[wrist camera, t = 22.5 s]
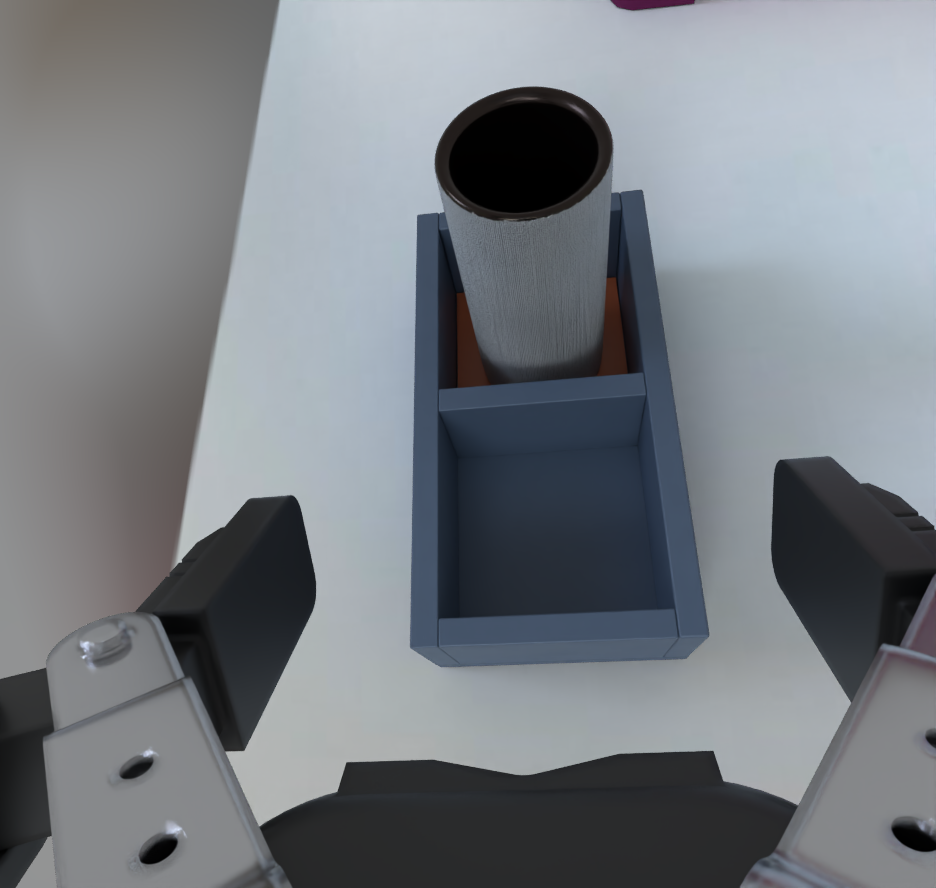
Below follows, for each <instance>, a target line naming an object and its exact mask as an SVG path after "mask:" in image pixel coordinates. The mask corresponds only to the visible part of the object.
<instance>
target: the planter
mask: <svg viewBox="0 0 936 888" xmlns="http://www.w3.org/2000/svg"><path fill="white" fill-rule="evenodd" d="M612 171H613V139H612V135H611V132H610V129H609V127H608V125H607V123H606V121H605V119H604V118H603V117H602V115H601V114H600V113H599V112H598V111H597V110H596V109H595V108H594V107H593V106H592V105H591V104H589V103H588V102H586V101H585V100H583V99H582V98H580V97H578V96H576V95H574V94H571V93H569V92H566V91H562V90H559V89H554V88H548V87H520V88H513V89H508V90H504V91H500V92H497V93H494V94H491V95H489V96H487V97H484V98H482V99H480V100H478V101H477V102H475V103H473V104H472V105H470V106H469V107H467V108H466V109H465V110H463V111H462V112H461V113H460V114H459V115H458V116H457V117H456V118H455V119H454V120H453V121H452V122H451V123H450V124H449V126H448V127H447V128H446V130H445V131H444V133H443V135H442V137H441V139H440V141H439V143H438V146H437V150H436V154H435V173H436V178H437V183H438V187H439V191H440V195H441V199H442V203H443V207H444V211H445V215H446V219H447V223H448V227H449V231H450V235H451V239H452V243H453V247H454V251H455V255H456V259H457V263H458V268H459V272H460V276H461V280H462V284H463V288H464V292H465V296H466V300H467V304H468V308H469V312H470V316H471V320H472V324H473V328H474V332H475V336H476V340H477V344H478V348H479V352H480V356H481V360H482V364H483V367H484V370H485V373H486V375H487V378H488V380H489V382H490V383H491V385H499V384H511V383H523V382H535V381H547V380H559V379H571V378H583V377H595V376H596V375H597V373H598V371H599V368H600V364H601V358H602V350H603V333H604V315H605V297H606V279H607V261H608V243H609V225H610V207H611V189H612Z"/></svg>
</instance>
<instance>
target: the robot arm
mask: <svg viewBox="0 0 936 888" xmlns="http://www.w3.org/2000/svg"><path fill="white" fill-rule="evenodd" d="M771 553H772V563H773V568H774V573H775V576H776V579H777V582H778V584H779V586H780V588H781V590H782V591H783V593H784V595H785V596H786V598H787V599H788V601H789V603H790V604H791V606H792V608H793V609H794V611H795V612H796V614H797V616H798V617H799V619H800V620H801V622H802V624H803V625H804V627H805V629H806V630H807V632H808V633H809V635H810V637H811V638H812V640H813V641H814V643H815V645H816V646H817V648H818V650H819V651H820V653H821V654H822V656H823V658H824V659H825V661H826V662H827V664H828V666H829V667H830V669H831V671H832V672H833V674H834V675H835V677H836V679H837V680H838V682H839V684H840V685H841V687H842V688H843V690H844V692H845V693H846V695H847V696H848V698H849V700H850V701H851V705H850V706H849V708H848V710H847V712H846V714H845V716H844V718H843V720H842V722H841V724H840V726H839V728H838V730H837V732H836V734H835V736H834V738H833V739H832V741H831V743H830V745H829V747H828V749H827V751H826V753H825V755H824V757H823V759H822V761H821V763H820V765H819V767H818V769H817V770H816V772H815V774H814V776H813V778H812V780H811V782H810V784H809V786H808V788H807V790H806V792H805V794H804V796H803V798H802V800H801V802H800V803H799V805H796V804H794V803H792V802H789V801H787V800H785V799H783V798H780V797H777V796H775V795H772V794H769V793H767V792H764V791H761V790H758V789H754V788H750V787H747V786H743V785H740V784H735V783H730V782H725V781H723V779H722V776H721V773H720V770H719V767H718V764H717V761H716V758H715V754H714V751H696V752H664V753H633V754H617V755H613V756H609V757H604V758H600V759H596V760H592V761H588V762H583V763H579V764H575V765H571V766H567V767H563V768H558V769H554V770H550V771H546V772H542V773H537V774H533V775H513V774H508V773H502V772H497V771H492V770H486V769H481V768H475V767H470V766H464V765H459V764H453V763H448V762H442V761H437V760H410V761H378V762H347V763H346V766H345V769H344V772H343V776H342V779H341V782H340V785H339V789H338V792H336V793H332V794H328V795H325V796H322V797H319V798H316V799H313V800H310V801H307V802H305V803H303V804H300V805H298V806H296V807H294V808H292V809H289V810H287V811H285V812H283V813H282V814H280V815H278V816H276V817H274V818H273V819H271V820H269V821H267V822H266V823H264V824H263V825H261V826H260V827H259V826H258V823H257V821H256V819H255V817H254V815H253V812H252V810H251V808H250V806H249V804H248V801H247V799H246V797H245V795H244V793H243V790H242V788H241V786H240V784H239V781H238V779H237V777H236V775H235V773H234V770H233V768H232V766H231V764H230V762H229V759H228V757H227V755H226V753H225V751H244V750H245V748H246V746H247V744H248V742H249V740H250V738H251V736H252V734H253V732H254V730H255V728H256V726H257V724H258V722H259V720H260V718H261V716H262V714H263V711H264V709H265V707H266V705H267V703H268V701H269V699H270V697H271V695H272V693H273V691H274V689H275V687H276V685H277V683H278V681H279V679H280V677H281V675H282V673H283V671H284V669H285V667H286V665H287V662H288V660H289V658H290V656H291V654H292V652H293V650H294V648H295V646H296V644H297V642H298V640H299V638H300V636H301V634H302V632H303V630H304V628H305V626H306V624H307V622H308V620H309V618H310V616H311V613H312V611H313V608H314V605H315V599H316V579H315V573H314V568H313V563H312V559H311V554H310V549H309V545H308V540H307V535H306V531H305V526H304V522H303V517H302V512H301V508H300V505H299V503H298V501H297V499H296V498H295V497H294V496H291V495H290V496H277V497H263V498H251V499H249V500H248V501H247V502H246V503H245V504H244V505H243V506H242V507H241V509H240V510H239V511H238V512H237V513H236V514H235V516H234V517H233V518H232V519H231V520H230V521H229V523H228V524H227V525H226V526H225V527H223V528H220V529H218V530H217V531H215V532H213V533H212V534H210V535H209V536H207V537H205V538H204V539H202V540H201V541H199V542H197V543H196V544H195V546H194V547H193V548H192V549H191V550H190V551H189V552H188V553H187V554H186V556H185V557H184V558H183V559H182V563H178V564H177V566H176V567H175V568H174V569H173V570H172V571H171V572H170V577H166V578H165V579H164V580H163V581H162V582H161V583H160V585H159V586H158V587H157V588H156V589H155V590H154V591H153V592H152V593H151V595H150V596H149V597H148V598H147V599H146V600H145V601H144V602H143V604H142V605H141V606H140V607H139V608H138V609H137V610H136V612H128V613H121V614H116V615H112V616H108V617H105V618H102V619H99V620H97V621H94V622H92V623H89V624H87V625H85V626H83V627H81V628H79V629H78V630H76V631H74V632H72V633H71V634H69V635H68V636H66V637H65V638H64V639H62V640H61V641H60V642H59V643H58V644H57V645H56V646H55V647H54V648H53V649H52V651H51V652H50V653H49V655H48V657H47V660H46V668H44V669H40V670H36V671H32V672H28V673H24V674H19V675H15V676H11V677H7V678H3V679H0V888H16V886H17V885H18V883H19V882H20V880H21V878H22V877H23V875H24V874H25V872H26V871H27V869H28V868H29V866H30V865H31V863H32V862H33V860H34V859H35V857H36V856H37V854H38V852H39V851H40V850H41V848H42V847H43V845H44V843H45V841H46V839H47V837H49V836H52V842H53V852H54V862H55V873H56V883H57V888H936V530H935V529H934V526H933V525H932V524H931V523H930V522H929V521H927V520H926V519H925V518H924V517H923V516H919V515H918V512H917V511H916V510H915V509H913V508H912V507H911V506H910V505H909V504H908V503H906V502H905V501H904V500H903V499H902V498H901V497H899V496H897V495H895V494H893V493H890V492H888V491H886V490H883V489H881V488H879V487H876V486H874V485H872V484H869V483H864V484H860V483H859V482H858V481H857V480H855V479H854V478H853V477H852V476H851V475H850V474H849V473H848V472H847V471H846V470H845V469H843V468H842V467H841V466H840V465H839V464H838V463H837V462H836V461H835V460H834V459H833V458H831V457H829V456H825V457H812V458H798V459H785V460H779V461H778V463H777V464H776V467H775V472H774V487H773V514H772V542H771Z"/></svg>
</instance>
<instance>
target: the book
mask: <svg viewBox="0 0 936 888" xmlns="http://www.w3.org/2000/svg"><path fill="white" fill-rule="evenodd" d="M611 1H612V2H613V3H614V4H615V5H616V6H617V7H620V8H625V9H630V10H638V9H647V8H656V7H665V6H675V5H684V4H693V3H694V1H695V0H611Z"/></svg>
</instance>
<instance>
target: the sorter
mask: <svg viewBox="0 0 936 888" xmlns="http://www.w3.org/2000/svg"><path fill="white" fill-rule="evenodd" d="M708 637H709V629H708V622H707V616H706V609H705V602H704V596H703V589H702V582H701V576H700V569H699V562H698V556H697V549H696V542H695V536H694V529H693V522H692V515H691V509H690V502H689V495H688V489H687V482H686V475H685V469H684V462H683V455H682V449H681V442H680V435H679V429H678V422H677V415H676V409H675V402H674V395H673V389H672V382H671V375H670V369H669V362H668V355H667V349H666V342H665V335H664V328H663V322H662V315H661V308H660V302H659V295H658V288H657V282H656V275H655V268H654V262H653V255H652V248H651V242H650V235H649V228H648V222H647V215H646V208H645V202H644V195H643V191H642V190H634V191H626V192H621V193H620V194H619V193H618V192H617V193H611V207H610V225H609V243H608V261H607V279H606V297H605V315H604V333H603V350H602V358H601V364H600V368H599V371H598V373H597V375H596V376H595V377H583V378H571V379H559V380H547V381H535V382H523V383H511V384H499V385H491V383H490V382H489V380H488V378H487V375H486V373H485V370H484V367H483V364H482V360H481V356H480V352H479V348H478V344H477V340H476V336H475V332H474V328H473V324H472V320H471V316H470V312H469V308H468V304H467V300H466V296H465V292H464V288H463V284H462V280H461V276H460V272H459V268H458V263H457V259H456V255H455V251H454V247H453V243H452V239H451V235H450V231H449V227H448V223H447V219H446V215H445V212H443V213H440V214H438V213H431V214H422V215H418V216H417V263H416V323H415V383H414V444H413V504H412V564H411V624H410V648H411V649H413V650H414V651H416V652H417V653H419V654H421V655H422V656H424V657H425V658H427V659H428V660H430V661H431V662H433V663H435V664H436V665H438V666H440V667H460V666H489V665H519V664H548V663H578V662H607V661H637V660H666V659H686V658H687V657H688V656H689V655H690V654H691V653H692V652H693V651H694V650H695V649H696V648H697V647H698V646H699V645H701V644H702V643H703V642H704V641H705V640H706V639H707V638H708Z"/></svg>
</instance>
